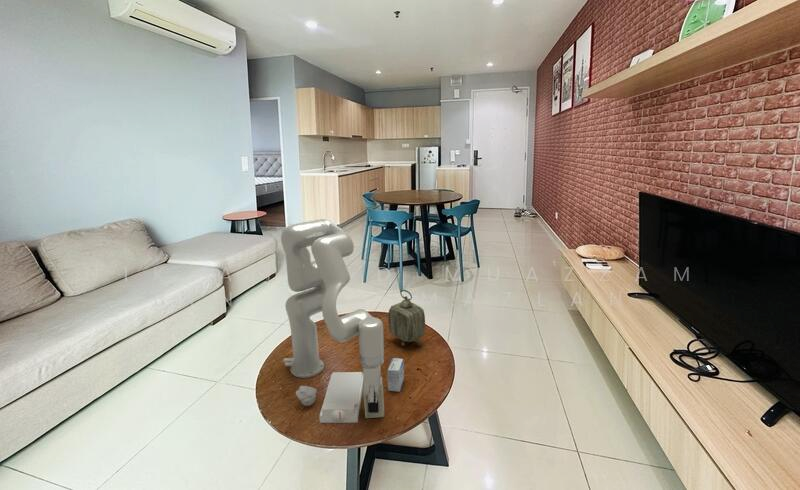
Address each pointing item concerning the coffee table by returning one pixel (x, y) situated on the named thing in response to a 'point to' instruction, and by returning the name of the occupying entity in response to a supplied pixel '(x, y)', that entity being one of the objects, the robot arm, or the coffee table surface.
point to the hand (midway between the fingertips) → (374, 406)
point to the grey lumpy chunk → (306, 395)
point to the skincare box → (380, 404)
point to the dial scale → (342, 398)
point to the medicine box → (396, 374)
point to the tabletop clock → (407, 320)
